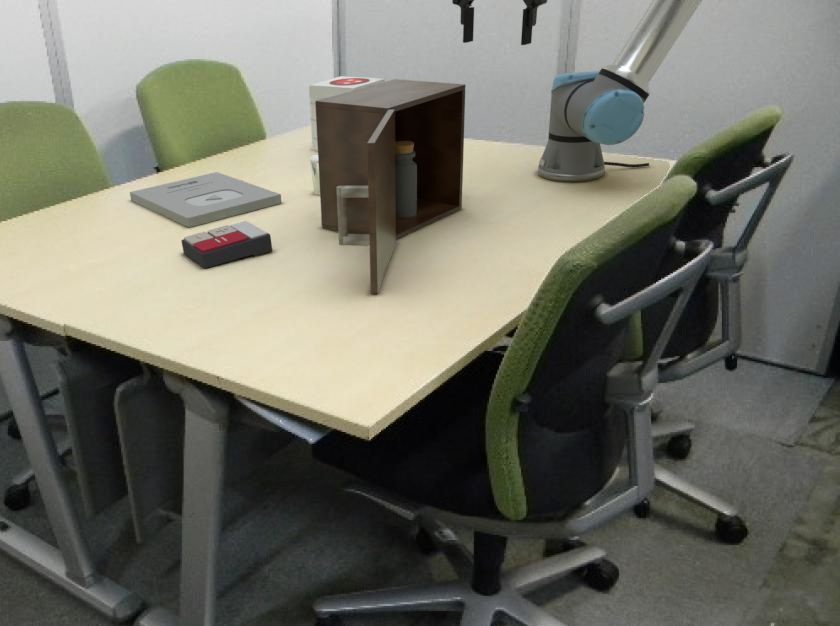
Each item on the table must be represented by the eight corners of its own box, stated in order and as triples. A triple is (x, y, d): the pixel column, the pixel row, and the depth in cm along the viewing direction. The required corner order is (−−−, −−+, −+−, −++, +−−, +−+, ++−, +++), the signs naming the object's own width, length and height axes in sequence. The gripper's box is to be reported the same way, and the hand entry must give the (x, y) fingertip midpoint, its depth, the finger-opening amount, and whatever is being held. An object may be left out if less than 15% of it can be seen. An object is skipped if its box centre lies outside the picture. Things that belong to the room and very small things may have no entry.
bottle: (399, 220, 179) (398, 148, 172) (384, 213, 184) (383, 143, 176) (422, 215, 181) (422, 143, 174) (406, 208, 186) (406, 138, 179)
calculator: (179, 236, 171) (246, 217, 176) (183, 256, 173) (249, 237, 179) (201, 251, 162) (270, 230, 168) (204, 272, 165) (273, 251, 170)
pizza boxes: (362, 168, 222) (360, 96, 213) (303, 149, 244) (299, 83, 236) (421, 155, 230) (421, 85, 221) (358, 137, 252) (356, 73, 244)
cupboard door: (337, 292, 149) (331, 143, 136) (361, 243, 171) (357, 110, 158) (377, 293, 148) (374, 142, 135) (395, 243, 170) (394, 109, 157)
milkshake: (331, 189, 207) (329, 147, 202) (329, 195, 202) (327, 152, 197) (312, 189, 207) (310, 148, 202) (310, 196, 203) (308, 153, 198)
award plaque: (217, 180, 221) (216, 171, 220) (281, 203, 199) (280, 194, 198) (131, 200, 209) (129, 191, 208) (188, 227, 187) (187, 218, 186)
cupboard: (461, 209, 186) (465, 84, 173) (389, 243, 170) (387, 108, 157) (395, 197, 197) (394, 79, 184) (321, 228, 181) (315, 100, 168)
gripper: (436, -72, 170) (435, 43, 180) (551, -78, 154) (542, 47, 165) (457, -74, 174) (455, 38, 185) (571, -81, 159) (561, 42, 169)
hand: (496, 43), depth 175 cm, fingers open, 13 cm apart
